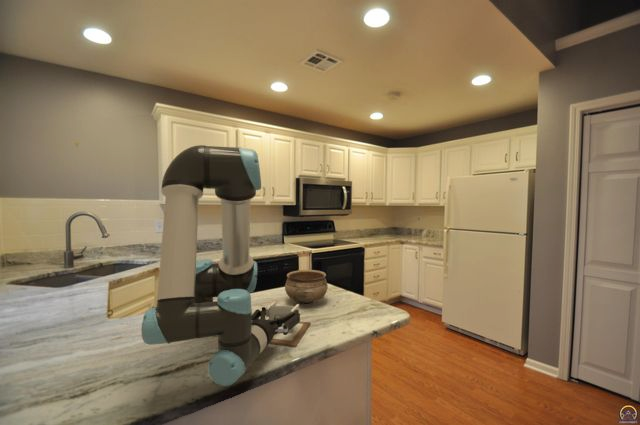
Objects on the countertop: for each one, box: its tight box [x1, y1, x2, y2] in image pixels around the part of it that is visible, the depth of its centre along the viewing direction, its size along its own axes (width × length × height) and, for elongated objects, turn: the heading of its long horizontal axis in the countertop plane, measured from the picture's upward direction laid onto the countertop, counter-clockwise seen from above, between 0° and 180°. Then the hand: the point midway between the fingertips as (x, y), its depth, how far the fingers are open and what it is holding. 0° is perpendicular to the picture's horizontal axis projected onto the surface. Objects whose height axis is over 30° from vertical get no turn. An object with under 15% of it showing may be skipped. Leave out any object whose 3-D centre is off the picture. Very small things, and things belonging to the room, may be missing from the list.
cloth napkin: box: [267, 318, 311, 348], centre depth 89 cm, size 16×16×1 cm
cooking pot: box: [284, 269, 328, 305], centre depth 117 cm, size 25×19×12 cm
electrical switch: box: [268, 305, 295, 332], centre depth 89 cm, size 8×5×8 cm, turn 91°
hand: (286, 306), depth 93 cm, fingers closed on electrical switch, 8 cm apart
